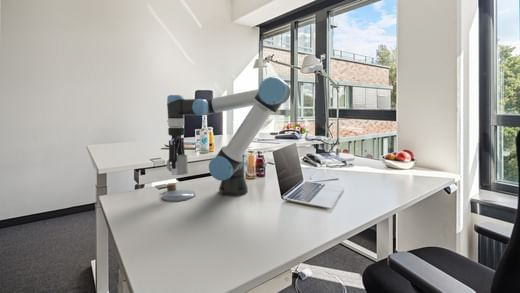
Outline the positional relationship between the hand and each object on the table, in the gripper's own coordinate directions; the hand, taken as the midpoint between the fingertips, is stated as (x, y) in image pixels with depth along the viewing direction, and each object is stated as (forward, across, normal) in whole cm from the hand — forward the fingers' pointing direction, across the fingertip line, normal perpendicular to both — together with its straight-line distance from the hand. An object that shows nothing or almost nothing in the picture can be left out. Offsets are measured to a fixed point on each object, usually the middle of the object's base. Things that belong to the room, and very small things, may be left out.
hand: (177, 173), depth 141 cm
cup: (0, +1, 0) cm, 1 cm away
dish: (+12, 0, 0) cm, 12 cm away
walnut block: (+12, -8, -7) cm, 16 cm away
